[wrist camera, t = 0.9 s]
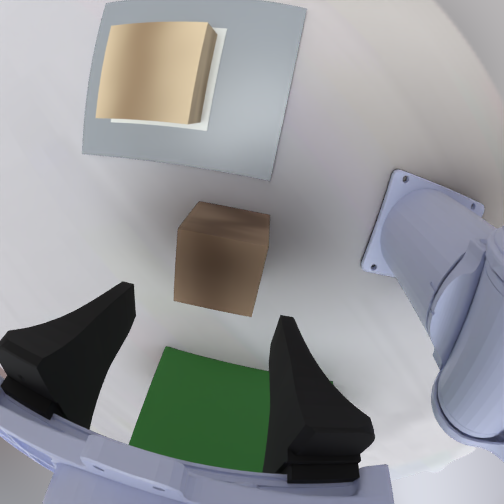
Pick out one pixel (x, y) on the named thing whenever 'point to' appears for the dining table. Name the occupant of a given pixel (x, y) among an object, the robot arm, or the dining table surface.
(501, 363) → the robot arm
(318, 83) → the dining table surface
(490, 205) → the dining table surface
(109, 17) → the build plate
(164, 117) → the oak block
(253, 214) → the walnut cube
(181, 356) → the hardback book
